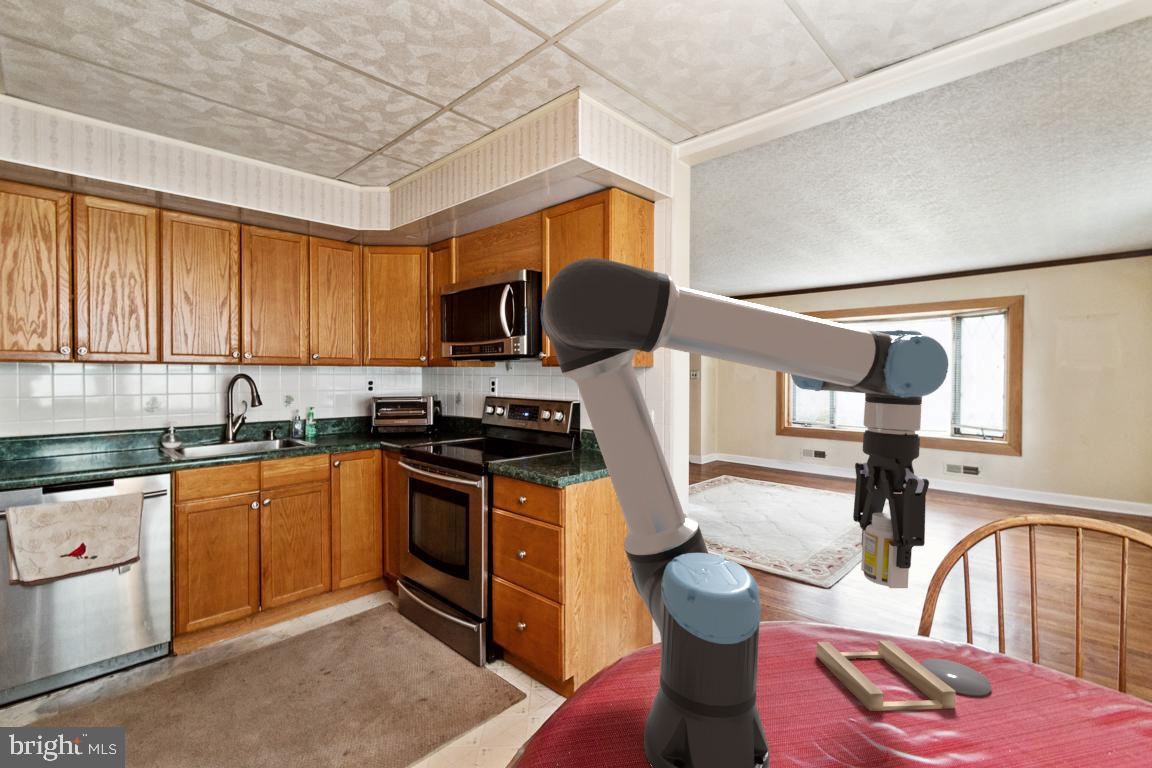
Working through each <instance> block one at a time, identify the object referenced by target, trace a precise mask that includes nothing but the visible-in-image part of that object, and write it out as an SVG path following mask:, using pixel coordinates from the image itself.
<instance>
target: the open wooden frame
mask: <svg viewBox="0 0 1152 768" xmlns="http://www.w3.org/2000/svg"><path fill="white" fill-rule="evenodd" d="M877 643H878V647H877V651H845V652H843V651H842V652H841V651H839V650H838V649H837V648H836V647H835V646H834V645H833V644H832V643H830V642H829V641H816V657H817V659H818V660H819V661H820V662H821V663H822V664H823V665H824V666H825V667H826V668H827V669H828V670H829V671H830V672H831V673H832V674H833V675H834V676H835V677H836V678H837V679H838V680H839V681H840V682H841V683H842V684H843V685H844V687H846V689H848V690H849V691H850V693H852V694H853V695H854V696H855V698H857V699H858V701H859V702H860V703H861V704H863V706H864V707H865V708H866V709H867V710H868V711H869V712H881V711H906V710H907V711H911V710H939V709H941V710H942V709H947V710H948V709H955V708H956V695H957V694H956V691H955V690H953V689H952V688H951V687H949V686H948V685H947V684H946V683H944V682H943V681H942V680H940V679H939V678H938V677H937V676H935V675H934V674H933V673H931V672H930V671H929V670H927V669H926V668H925V667H924V666H922V665H921V663H920V662H918V661H917V660H916V659H914V657H912V656H910V655H909V653H907V652H905V651H904V650H903V649H902V648H901V647H899V646H897V645H896V644H895V643H893V642H892V641H891V640H890V639H887V640H878V642H877ZM856 658H871V659H882V660H883V659H884V660H883V661H885V662H886V663H887V664H888V665H890V666H891V667H892V668H893V669H894V670H896V672H898V673H899V674H900V675H901V676H902V677H904V679H906V680H907V681H908V682H909V683H911V684H912V685H913V686H915V687H916V688H917V689H918V690H919V691H920V692H922V694H924V695H925V696H926V697H927V698H929V699H928V700H927V699H926V700H901V701H896V700H895V701H884V699H885V698H884V696H885V695H884V692H883V691H882V690H881V689H879V687H878V686H877V685H876V684H874V683H873V682H872V681H871V680H870V679H869V678H868V677H867V676H866V675H865V674H864V673H863V672H861V671H860V670H859V669H858V668H857V667H856V666H855V665H854V664H853V663H852V662H851V661H850V660H857V659H856Z"/></svg>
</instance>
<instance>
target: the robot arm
mask: <svg viewBox="0 0 1152 768" xmlns="http://www.w3.org/2000/svg"><path fill="white" fill-rule="evenodd" d="M546 289H547V290H546V293H545V294H544V296H543V300H542V302H541V307H540V321H541V326H542V328H543V332H544V333H545V336H546V337H547V338H548V340H549V341H550V343H551V346H552V348H553V352H554V353H555V357H556V359H557V362H558V365H559V368H560V371H561V373H562V375H563V376H565V377H566V378H568V379H570V380H573V381H574V382H575V383H576V384H577V385H576V386H577V387H578V388H577V389H578V390H579V392H580V397H581V399H582V402H583V404H584V407H585V410H586V413H587V416H588V418H589V421H590V424H591V427H592V430H593V433H594V435H595V438H596V441H597V444H598V447H599V450H600V453H601V456H602V458H603V462H604V464H605V467H606V469H607V470H606V471H607V474H608V476H609V478H610V481H611V484H612V487H613V489H614V492H615V494H616V498H617V500H618V503H619V507H620V510H621V512H622V515H623V518H624V520H625V523H626V527H627V529H628V533H627V535H626V537H625V538H624V540H623V548H624V551H625V553H626V556H627V559H628V562H629V565H630V572H631V578H632V582H633V584H634V585H633V586H634V587H635V590H636V591H637V593H638V595H639V596H640V597H641V599H642V601H643V603H644V604H645V606H646V608H647V610H648V612H649V614H650V616H651V618H652V620H653V622H654V623H655V627H657V629H658V632H659V635H660V663H659V665H660V666H659V667H660V668H659V670H660V671H659V673H660V674H659V687H658V689H657V692H656V694H655V697H654V699H653V702H652V705H651V708H650V709H649V712H648V715H647V718H646V720H645V721H646V722H645V726H644V735H643V737H644V738H643V750H644V749H645V751H644V755H645V754H646V755H645V757H647V758H646V760H647V759H648V761H649V763H650V764H651V765H652V767H653V768H770V762H771V761H770V757H771V755H770V748H769V743H768V740H767V736H766V733H765V730H764V726H763V723H762V718H761V716H760V712H759V709H758V705H757V687H758V666H759V665H758V663H759V661H758V660H759V641H760V639H759V638H760V624H761V619H762V618H761V617H762V613H761V612H762V606H761V604H760V591H759V590H760V589H759V587H758V586H759V585H758V583H757V581H756V579H755V578H754V576H753V575H752V574H751V572H749V571H748V569H746V568H745V567H744V566H742V565H741V564H739V563H737V562H735V561H734V560H727V559H726V557H724V556H720V555H716V554H712V553H709V551H708V549H707V548H708V547H707V545H706V542H705V540H704V536H703V533H702V531H701V528H700V525H699V521H698V520H697V519H696V518H695V517H693V516H691V515H689V514H686V513H684V511H683V507H682V504H681V501H680V498H679V496H678V493H677V489H676V487H675V485H674V484H675V483H674V482H673V479H672V476H671V473H670V470H669V467H668V464H667V461H666V458H665V455H664V453H663V450H662V447H661V444H660V440H659V437H658V435H657V431H656V429H655V426H654V423H653V421H652V417H651V415H650V411H649V409H648V406H647V403H646V400H645V398H644V397H645V396H644V395H643V391H642V388H641V386H640V384H639V380H638V378H637V374H636V370H635V369H634V365H633V360H634V359H635V356H636V354H637V351H639V352H645V353H648V354H649V353H650V354H651V353H654V352H655V351H656V350H658V349H660V348H665V349H670V350H675V351H680V352H684V353H688V354H689V353H690V354H693V355H698V356H703V357H709V358H712V359H716V360H717V359H718V360H722V361H725V362H726V361H727V362H731V363H736V364H741V365H747V366H750V367H756V368H760V369H765V370H769V371H774V372H778V373H783V374H789V375H790V377H791V379H792V381H793V383H794V384H795V386H797V387H798V388H799V389H802V390H807V391H808V390H810V391H815V392H820V391H827V392H828V391H829V392H832V391H833V392H845V393H858V394H860V393H861V394H864V396H865V398H864V409H863V410H864V412H863V426H864V427H865V428H867V429H865V431H863V435H862V436H863V437H862V438H863V439H862V452H863V454H865V455H867V456H868V459H867V460H866V462H856V463H855V464H854V469H855V476H856V478H855V479H856V480H855V491H854V502H853V513H852V515H853V516H852V518H853V521H854V522H855V523H858V524H859V528H860V529H861V530H862V531H861V563H860V564H861V566H860V567H861V568H860V570H861V571H862V572H864V556H865V535H866V527H867V526H868V525H871V524H872V515H873V513H884V508H885V505H886V501H887V500H888V506H889V507H888V508H889V514H890V516H891V523H892V530H893V538H894V542H889V543H890V544H889V563H888V582H887V586H886V587H888V588H889V589H909V572H910V571H909V569H910V568H911V566H912V565H911V564H912V562H911V561H912V553H913V551H912V549H913V547H924V546H925V542H926V539H925V537H926V536H925V535H926V534H925V533H926V500H927V499H926V495H927V492H928V489H929V486H930V481H929V479H928V478H920V477H918V476H917V475H916V474H915V470H914V467H913V461H914V460H916V459H917V458H919V456H920V449H921V446H920V445H921V443H920V442H921V436H920V435H919V434H918V433H916V432H918V431H920V430H921V422H922V421H921V419H922V402H923V397H925V396H928V395H930V394H933V393H934V392H936V391H937V390H938V389H940V387H942V385H943V383H944V382H945V380H946V378H947V374H948V371H949V357H948V354H947V352H946V350H945V348H944V346H943V345H942V344H941V343H940V342H939V341H937V340H936V339H935V338H932V337H930V336H927V335H924V334H922V333H921V332H920V331H917V330H909V329H902V330H901V329H886V330H885V329H884V330H881V329H880V330H870V329H869V330H868V329H865V328H862V327H857V326H854V325H853V326H852V325H850V324H849V325H847V324H844V323H840V322H835V321H831V320H826V319H822V318H819V317H814V316H809V315H807V314H806V315H805V314H800V313H796V312H792V311H787V310H784V309H781V308H774V307H770V306H766V305H763V304H758V303H754V302H753V303H752V302H748V301H745V300H740V299H735V298H731V297H727V296H723V295H718V294H714V293H710V292H705V291H701V290H697V289H692V288H688V287H684V286H679V285H677V284H676V283H675V282H674V279H673V278H672V277H671V275H670V274H666V273H662V272H657V271H653V270H649V269H645V268H643V267H638V266H634V265H631V264H627V263H621V262H618V261H614V260H610V259H605V258H596V257H590V258H582V259H578V260H575V261H572V262H570V263H568V264H567V265H565V266H564V267H562V268H561V269H560V270H559V271H558V272H556V273H555V275H554V276H553V278H552V279H551V281H550V283H548V287H547V288H546ZM902 536H903V538H902ZM648 761H647V762H648ZM649 763H648V764H649Z"/></svg>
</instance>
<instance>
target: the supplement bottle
mask: <svg viewBox="0 0 1152 768" xmlns="http://www.w3.org/2000/svg"><path fill="white" fill-rule="evenodd" d="M902 538H903V536H902ZM889 542H894V538H893V530H892V523H891V516H890V513H886V512H882V513H873V515H872V524H871V525H868V526H867V527H866V535H865V556H864V571H863V575H864V577H865V578H866V580H868V581H870V582H872V583H873V584H877V585H881V586H883V587H884V586H885V587H888V586H887V582H888V563H889V544H890V543H889Z"/></svg>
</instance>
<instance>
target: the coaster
mask: <svg viewBox="0 0 1152 768" xmlns="http://www.w3.org/2000/svg"><path fill="white" fill-rule="evenodd" d="M920 664H921V665H922V666H924V667H925V668H926V669H927V670H929V671H930V672H931V673H933V674H934V675H935V676H937V677H938V678H939V679H940V680H942V681H943V682H944V683H946V684H947V685H948V686H949V687H951V688H952V689H953V690H955V691H956V693H957V694H961V695H965V696H970V697H971V696H972V697H983V696H984V697H985V696H987V695H989V694H990V693H991V690H992V684H991V682H990V681H989V679H988V678H987V677H986V676H985V675H984V674H982V673H981V672H979V671H978V670H975V669H974V668H972V667H970V666H967V665H965V664H962V663H959V662H956V661H953V660H949V659H941V658H929V659H928V658H927V659H925V660H923V661H922V662H921V663H920Z"/></svg>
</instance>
